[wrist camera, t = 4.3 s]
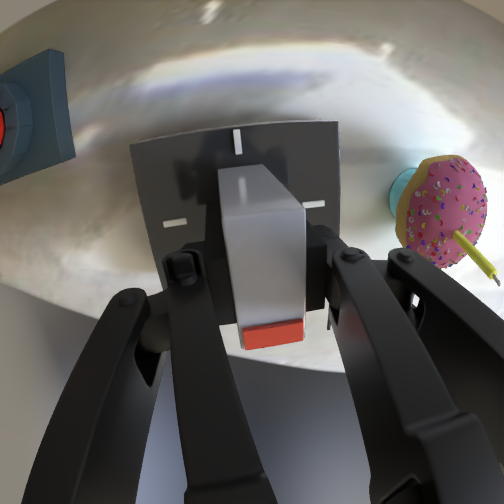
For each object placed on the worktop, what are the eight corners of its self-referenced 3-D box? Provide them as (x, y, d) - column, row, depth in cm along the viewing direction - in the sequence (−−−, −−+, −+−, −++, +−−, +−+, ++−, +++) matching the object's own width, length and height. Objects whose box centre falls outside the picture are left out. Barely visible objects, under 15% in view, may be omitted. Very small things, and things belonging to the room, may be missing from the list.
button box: (64, 52, 13) (35, 44, 9) (76, 156, 17) (48, 168, 13) (-26, 102, 12) (-57, 107, 9) (-13, 190, 16) (-42, 206, 12)
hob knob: (216, 169, 16) (221, 221, 8) (263, 163, 16) (308, 210, 9) (228, 256, 18) (241, 354, 11) (270, 251, 18) (307, 343, 11)
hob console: (321, 119, 18) (340, 121, 15) (323, 250, 22) (338, 271, 20) (141, 139, 17) (128, 145, 14) (169, 272, 22) (164, 297, 19)
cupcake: (388, 258, 24) (472, 349, 13) (351, 177, 20) (468, 250, 9) (454, 208, 22) (547, 270, 12) (429, 126, 19) (552, 162, 8)
